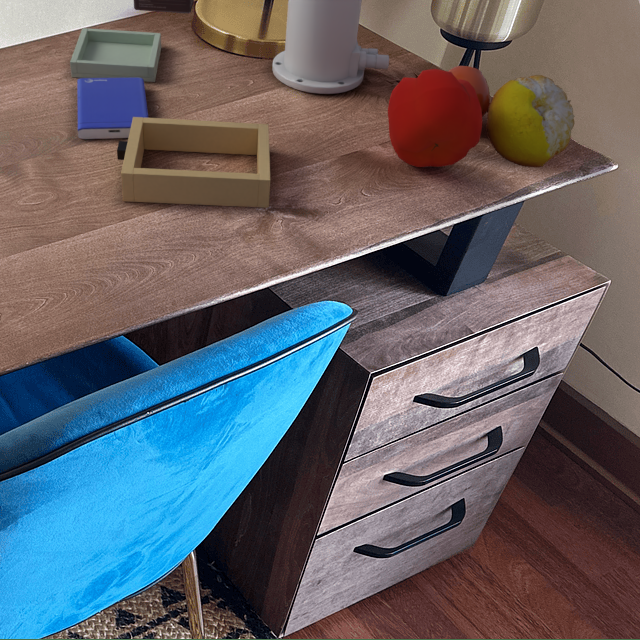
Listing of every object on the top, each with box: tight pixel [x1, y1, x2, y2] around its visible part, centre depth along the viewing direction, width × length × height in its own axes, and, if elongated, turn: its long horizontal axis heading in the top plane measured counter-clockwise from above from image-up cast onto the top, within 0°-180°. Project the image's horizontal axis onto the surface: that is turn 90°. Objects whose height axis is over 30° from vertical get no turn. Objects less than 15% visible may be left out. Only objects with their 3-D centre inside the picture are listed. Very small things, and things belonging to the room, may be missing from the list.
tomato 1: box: [387, 68, 483, 168], centre depth 95 cm, size 11×12×9 cm
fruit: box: [485, 74, 576, 168], centre depth 99 cm, size 11×10×8 cm
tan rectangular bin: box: [116, 117, 271, 209], centre depth 92 cm, size 16×12×4 cm
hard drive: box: [76, 78, 149, 140], centre depth 101 cm, size 2×8×12 cm
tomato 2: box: [447, 65, 491, 118], centre depth 106 cm, size 7×7×8 cm
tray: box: [69, 27, 162, 83], centre depth 111 cm, size 11×11×2 cm
